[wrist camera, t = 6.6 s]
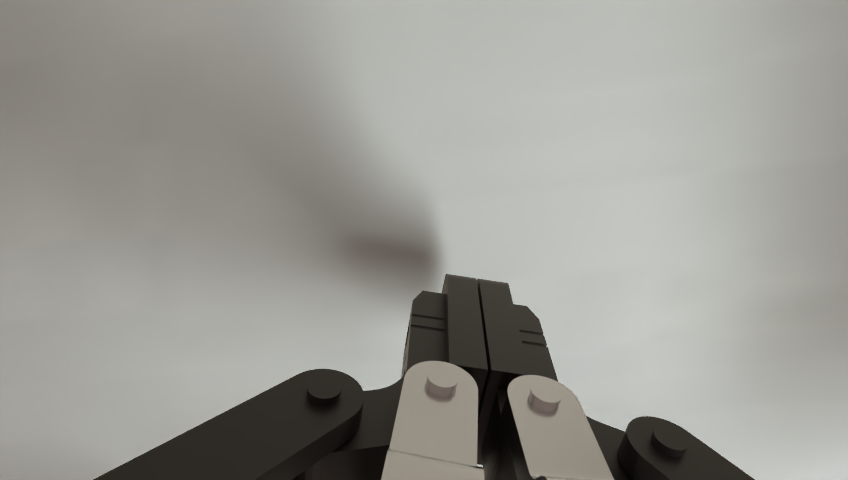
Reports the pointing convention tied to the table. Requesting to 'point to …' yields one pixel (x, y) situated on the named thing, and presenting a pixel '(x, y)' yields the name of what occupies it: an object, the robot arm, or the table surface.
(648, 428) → the robot arm
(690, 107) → the table surface
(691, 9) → the table surface
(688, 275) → the table surface
